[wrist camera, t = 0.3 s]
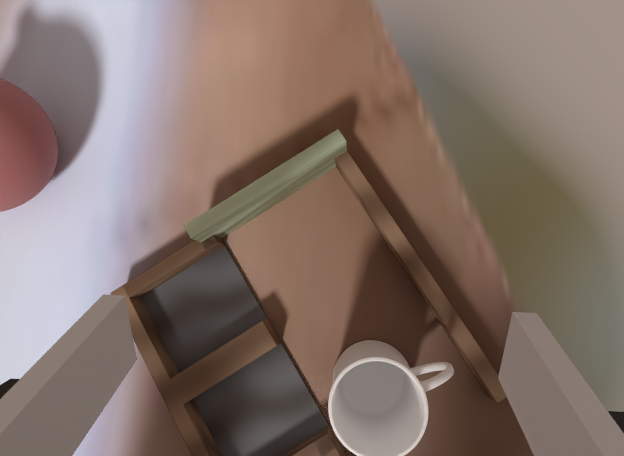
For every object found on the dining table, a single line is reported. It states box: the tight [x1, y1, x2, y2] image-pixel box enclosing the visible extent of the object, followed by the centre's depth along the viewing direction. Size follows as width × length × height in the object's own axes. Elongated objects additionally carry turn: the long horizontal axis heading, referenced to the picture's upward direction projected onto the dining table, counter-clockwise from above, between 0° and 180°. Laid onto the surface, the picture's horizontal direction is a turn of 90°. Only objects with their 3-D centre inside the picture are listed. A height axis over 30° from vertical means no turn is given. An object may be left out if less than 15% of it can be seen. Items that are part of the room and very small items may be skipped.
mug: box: [328, 340, 454, 456], centre depth 40 cm, size 12×8×12 cm
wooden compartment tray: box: [111, 129, 507, 456], centre depth 45 cm, size 32×31×6 cm
